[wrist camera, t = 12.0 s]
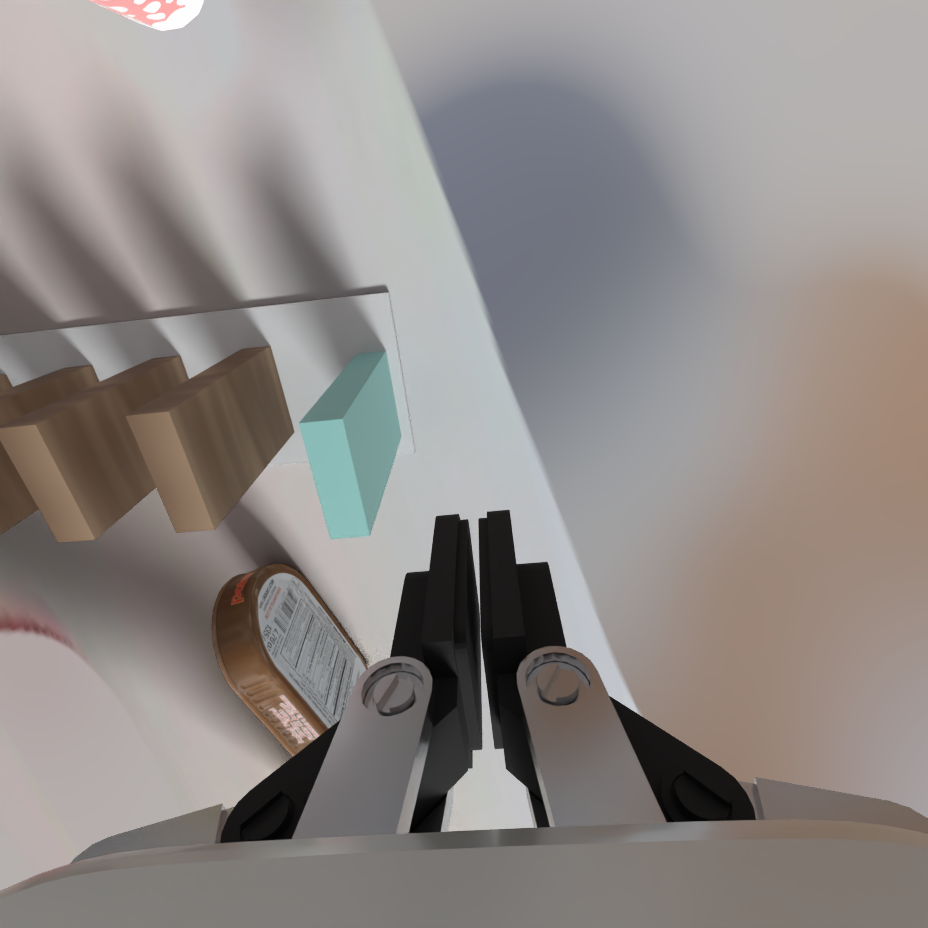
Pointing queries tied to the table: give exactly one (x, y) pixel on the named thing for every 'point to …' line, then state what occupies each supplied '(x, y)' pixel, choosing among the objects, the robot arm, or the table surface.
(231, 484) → the domino
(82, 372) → the domino
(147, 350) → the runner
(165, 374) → the domino
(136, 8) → the beverage cup
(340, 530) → the domino
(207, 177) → the table surface
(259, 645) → the tin
